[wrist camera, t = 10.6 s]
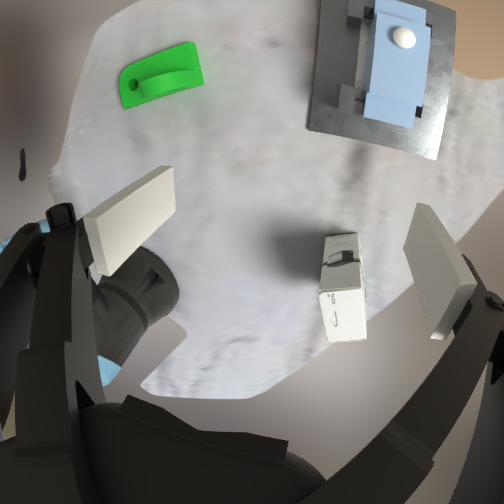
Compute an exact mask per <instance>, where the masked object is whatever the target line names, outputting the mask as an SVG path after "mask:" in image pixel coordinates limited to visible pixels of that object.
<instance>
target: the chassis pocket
mask: <svg viewBox="0 0 504 504" xmlns="http://www.w3.org/2000/svg"><path fill="white" fill-rule="evenodd" d="M396 1H400V2H404V3H407V4H410V5H414V6H417V7H420V8H423V9H426V24H425V26H427V27H430V28H431V35H430V48H429V59H428V68H427V76H426V84H425V91H424V98H423V104H422V107H420V106H416V112H415V117H414V123H413V128H412V129H409V128H406V127H402V126H399V125H395V124H391V123H387V122H383V121H379V120H375V119H371V118H366V117H363V111H364V104H365V97H366V92H364V91H362V86H363V78H364V70H365V61H366V51H367V40H368V28H369V26H370V24H371V22H372V20H373V19H374V3H375V0H321V10H320V23H319V36H318V47H317V58H316V68H315V78H314V88H313V97H312V106H311V114H310V123H309V131H315V132H321V133H327V134H332V135H337V136H342V137H347V138H352V139H356V140H361V141H365V142H370V143H374V144H378V145H382V146H386V147H390V148H394V149H398V150H401V151H405V152H409V153H412V154H416V155H419V156H422V157H426V158H429V159H432V160H435V161H436V157H437V153H438V149H439V144H440V140H441V135H442V131H443V126H444V121H445V115H446V110H447V104H448V98H449V91H450V84H451V77H452V68H453V58H454V47H455V29H456V11H454V10H451V9H449V8H446V7H444V6H441V5H439V4H436V3H433V2H430V1H427V0H396Z"/></svg>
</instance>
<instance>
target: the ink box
mask: <svg viewBox="0 0 504 504" xmlns="http://www.w3.org/2000/svg"><path fill="white" fill-rule="evenodd" d="M319 301H320V306H321V310H322V314H323V321H324V324H325V331H326V336H327V340H328V341H329V342H330V343H334V342H348V341H359V340H366V285H365V274H364V267H363V259H362V252H361V246H360V239H359V234H358V233H355V234H347V235H337V236H330V237H326V238H325V246H324V255H323V263H322V270H321V278H320V286H319Z"/></svg>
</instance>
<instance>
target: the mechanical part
mask: <svg viewBox="0 0 504 504" xmlns="http://www.w3.org/2000/svg"><path fill="white" fill-rule="evenodd" d="M136 81H138V88H137V87H136ZM201 85H204V81H203V76H202V72H201V67H200V63H199V58H198V54H197V49H196V45H195V43H192V42H187V43H184V44H181V45H178V46H176V47H173V48H170V49H167V50H165V51H162V52H160V53H157V54H155V55H152V56H150V57H147V58H145V59H143V60H140V61H138V62H136V63H134V64H131V65H129V66H128V67H127V68H126V69H125V70H124V71H123V72H122V74H121V76H120V80H119V91H120V95H121V99H122V103H123V107H124V110H125V109H129V108H132V107H135V106H138V105H140V104H143V103H146V102H149V101H152V100H155V99H158V98H161V97H164V96H167V95H170V94H173V93H176V92H180V91H183V90H186V89H190V88H193V87H197V86H201Z"/></svg>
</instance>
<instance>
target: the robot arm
mask: <svg viewBox="0 0 504 504" xmlns="http://www.w3.org/2000/svg"><path fill="white" fill-rule="evenodd" d="M175 211H176V208H175V194H174V177H173V166H160V167H158V168H156V169H155V170H153V171H151V172H150V173H148V174H146V175H145V176H143V177H142V178H140V179H138V180H137V181H135V182H134V183H132V184H130V185H129V186H127V187H126V188H124V189H123V190H121V191H120V192H118V193H116V194H115V195H113V196H112V197H110V198H109V199H107V200H106V201H105V202H103V203H102V204H100V205H99V206H97V207H96V208H94V209H93V210H92V211H90V212H89V213H87V214H86V215H84V216H83V217H82V218H81V219H80V220H78V221H76V217H75V212H74V207H73V204H72V203H61V204H58V205H55V206H53V207H51V208H49V209H48V210H47V211H46V217H47V219H44V220H41V221H39V222H36V223H28V224H26V225H24V226H23V227H22V228H20V229H19V230H18V231H17V232H16V233H15V234H14V235H12V236H11V237H9V238H8V239H6V240H5V241H3V242H2V243H1V244H0V504H404V503H405V502H406V501H407V500H408V498H409V497H410V496H411V495H412V493H413V492H414V491H415V490H416V489H417V488H418V486H419V485H420V484H421V483H422V481H423V480H424V479H425V477H426V476H427V475H428V473H429V472H430V470H431V469H432V467H433V464H434V461H432V458H433V456H434V455H435V453H436V452H437V450H438V449H439V447H440V446H441V445H442V443H443V441H444V440H445V439H446V437H447V436H448V434H449V432H450V431H451V429H452V428H453V426H454V424H455V423H456V421H457V419H458V418H459V416H460V414H461V413H462V411H463V409H464V407H465V406H466V404H467V402H468V400H469V398H470V396H471V394H472V392H473V391H474V389H475V387H476V385H477V382H478V381H479V379H480V377H481V374H482V372H483V370H484V368H485V366H486V364H487V361H488V364H487V371H486V378H485V384H484V390H483V395H482V400H481V405H480V410H479V414H478V419H477V423H476V427H475V431H474V434H473V438H472V441H471V445H470V448H469V451H468V454H467V457H466V460H465V464H464V466H463V469H462V472H461V475H460V477H459V480H458V483H457V485H456V488H455V490H454V492H453V495H452V497H451V500H450V502H449V504H504V301H503V300H502V299H501V298H500V297H499V296H498V295H497V294H495V293H493V292H491V291H487V290H486V288H485V286H484V284H483V282H482V281H481V279H480V277H479V276H478V273H477V272H476V270H475V268H474V266H473V265H472V263H471V261H470V260H469V259H468V258H467V257H465V255H463V254H461V253H460V251H459V250H458V248H457V247H456V245H455V243H454V242H453V240H452V238H451V237H450V235H449V234H448V232H447V230H446V229H445V227H444V226H443V224H442V223H441V221H440V220H439V218H438V217H437V215H436V214H435V212H434V211H433V209H432V208H431V207H430V205H426V204H422V203H417V204H416V208H415V212H414V215H413V218H412V222H411V225H410V228H409V232H408V235H407V238H406V241H405V244H404V247H403V249H404V252H405V255H406V258H407V261H408V264H409V267H410V270H411V273H412V276H413V279H414V282H415V286H416V289H417V292H418V296H419V299H420V302H421V306H422V310H423V314H424V317H425V321H426V325H427V329H428V333H429V338H432V339H442V340H445V339H446V338H447V337H448V335H449V334H450V332H451V330H452V329H453V331H454V334H455V337H454V339H453V340H452V342H451V343H450V345H449V346H448V348H447V349H446V351H445V352H444V354H443V355H442V357H441V358H440V360H439V361H438V362H437V364H436V365H435V367H434V368H433V369H432V371H431V372H430V373H429V375H428V376H427V377H426V379H425V380H424V381H423V383H422V384H421V385H420V386H419V388H418V389H417V390H416V391H415V393H414V394H413V395H412V396H411V397H410V399H409V400H408V401H407V402H406V403H405V405H404V406H403V407H402V408H401V409H400V410H399V411H398V413H397V414H396V415H395V416H394V417H393V418H392V419H391V421H390V422H389V423H388V424H387V425H386V426H385V427H384V428H383V429H382V430H381V431H380V432H379V433H378V434H377V435H376V436H375V437H374V438H373V439H372V440H371V441H370V442H369V443H368V444H367V445H366V446H365V447H364V448H363V449H362V450H361V451H360V452H359V453H358V454H357V455H356V456H355V457H353V458H352V459H351V460H350V461H349V462H348V463H347V464H346V465H345V466H343V467H342V468H341V469H340V470H339V471H338V472H336V473H335V474H334V475H333V476H332V477H330V478H329V479H328V480H327V481H326V480H325V478H324V477H323V476H322V475H321V473H319V471H318V470H317V469H316V468H314V467H313V466H312V465H311V464H310V463H308V462H307V461H306V460H304V459H303V458H301V457H299V456H297V455H296V454H293V453H291V452H289V451H287V446H288V442H289V441H286V440H281V439H275V438H270V437H264V436H260V435H255V434H251V433H246V432H214V431H201V430H197V429H195V428H193V427H192V426H190V425H189V424H187V423H185V422H184V421H182V420H180V419H179V418H177V417H176V416H174V415H173V414H171V413H170V412H168V411H166V410H165V409H163V408H161V407H159V406H156V405H154V404H151V403H148V402H146V401H143V400H141V399H138V398H136V397H133V396H131V395H127V397H126V399H125V400H124V402H123V403H107V402H106V399H105V396H104V392H103V386H106V385H108V384H109V383H110V382H111V381H112V379H113V378H114V377H115V376H116V374H117V373H118V372H119V371H120V370H121V367H122V366H123V364H124V363H125V361H126V360H127V358H128V357H129V355H130V354H131V352H132V351H133V349H134V348H135V346H136V345H137V343H138V342H139V340H140V339H141V337H142V336H143V334H144V333H145V331H146V330H147V328H148V327H150V326H151V325H153V324H154V323H155V322H157V321H158V320H160V319H161V318H162V317H164V316H166V315H168V314H169V313H170V312H171V311H172V309H173V308H174V306H175V305H176V303H177V302H178V299H179V288H178V284H177V282H176V279H175V277H174V276H173V274H172V272H171V271H170V270H169V268H168V267H167V266H166V265H165V264H164V263H163V262H162V261H161V260H160V259H159V258H158V257H156V256H155V255H154V254H152V253H150V252H149V251H147V250H144V249H142V248H139V246H140V245H141V244H142V243H143V242H144V241H145V240H146V239H147V238H148V237H149V236H150V235H151V234H152V233H153V232H154V231H155V230H156V229H157V228H158V227H160V226H161V225H162V224H163V223H164V222H165V221H166V220H167V219H168V218H169V217H170V216H171V215H172V214H173V213H174V212H175ZM93 262H94V264H95V267H96V271H97V273H98V274H102V277H101V280H100V282H99V284H98V285H96V283H95V282H94V280H93V279H92V277H91V273H90V270H89V266H90V265H91V264H92V263H93ZM29 340H30V344H29V349H27V346H28V343H29ZM14 392H15V425H16V436H15V437H12V438H9V439H7V438H6V437H5V435H3V434H2V430H3V427H4V426H5V423H6V420H7V417H8V415H9V411H10V407H11V403H12V400H13V395H14Z"/></svg>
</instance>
